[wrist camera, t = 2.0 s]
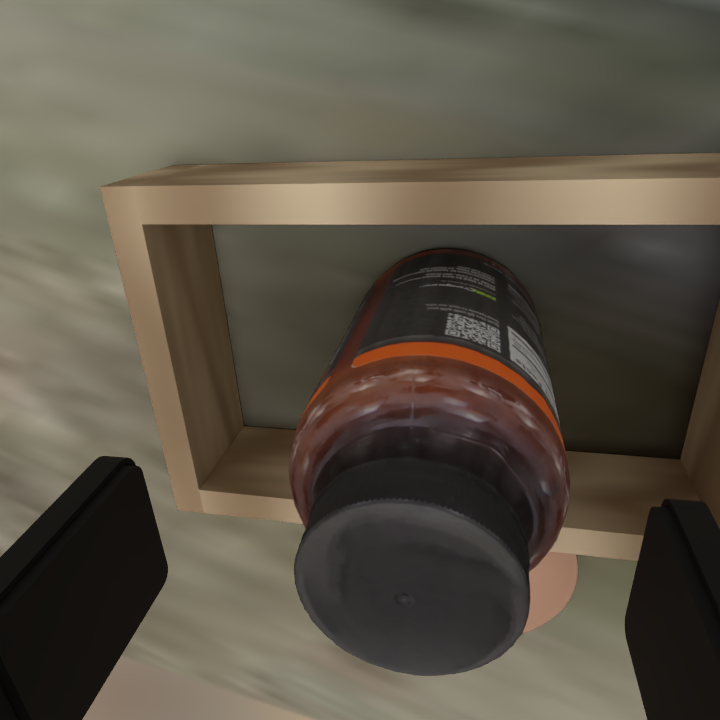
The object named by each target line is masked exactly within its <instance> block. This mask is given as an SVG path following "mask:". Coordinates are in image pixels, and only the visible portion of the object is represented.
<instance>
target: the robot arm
mask: <svg viewBox="0 0 720 720" xmlns="http://www.w3.org/2000/svg"><path fill="white" fill-rule="evenodd" d="M167 573H168V565H167V561H166V557H165V553H164V550H163V546H162V542H161V539H160V535H159V531H158V527H157V524H156V520H155V516H154V513H153V509H152V505H151V501H150V498H149V494H148V490H147V486H146V483H145V479H144V475H143V472H142V470H141V468H140V467H138V466H136V465H135V463H134V461H133V460H132V459H130V458H124V457H110V456H101V457H99V458H97V459H96V460H95V461H94V462H93V463H92V464H91V465H90V466H89V467H88V468H87V469H86V470H85V471H84V472H83V473H82V474H81V475H80V476H79V477H78V478H77V479H76V480H75V481H74V482H73V483H72V484H71V485H70V486H69V487H68V489H67V490H66V491H65V492H64V493H63V494H62V495H61V496H60V497H59V498H58V499H57V500H56V501H55V502H54V503H53V504H52V505H51V506H50V507H49V508H48V509H47V510H46V511H45V512H44V513H43V514H42V515H41V516H40V517H39V518H38V519H37V520H36V521H35V522H34V523H33V524H32V525H31V526H30V527H29V529H28V530H27V531H26V532H25V533H24V534H23V535H22V536H21V537H20V538H19V539H18V540H17V541H16V542H15V543H14V544H13V545H12V546H11V547H10V548H9V549H8V550H7V551H6V552H5V553H4V554H3V555H2V556H1V557H0V720H82V719H83V717H84V716H85V714H86V712H87V711H88V709H89V708H90V706H91V704H92V703H93V701H94V699H95V698H96V696H97V694H98V693H99V691H100V689H101V688H102V686H103V684H104V683H105V681H106V679H107V677H108V676H109V675H110V672H111V671H112V670H113V668H114V666H115V665H116V663H117V661H118V660H119V658H120V656H121V655H122V653H123V651H124V650H125V648H126V647H127V645H128V643H129V642H130V640H131V638H132V637H133V635H134V633H135V632H136V630H137V628H138V627H139V625H140V623H141V622H142V620H143V618H144V617H145V615H146V614H147V612H148V610H149V609H150V607H151V605H152V604H153V602H154V600H155V599H156V597H157V595H158V594H159V592H160V590H161V589H162V587H163V585H164V583H165V581H166V578H167ZM625 634H626V639H627V643H628V647H629V651H630V655H631V659H632V663H633V666H634V670H635V674H636V678H637V682H638V686H639V689H640V693H641V697H642V701H643V705H644V709H645V712H646V716H647V720H720V529H719V527H718V525H717V523H716V521H715V519H714V517H713V515H712V513H711V511H710V510H709V508H708V506H707V505H706V503H704V502H702V501H692V500H679V499H664V501H663V502H662V504H661V507H655V506H653V507H651V509H650V511H649V515H648V519H647V523H646V528H645V532H644V537H643V541H642V545H641V550H640V554H639V559H638V563H637V567H636V572H635V576H634V580H633V585H632V589H631V594H630V598H629V602H628V607H627V611H626V616H625Z"/></svg>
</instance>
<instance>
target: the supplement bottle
mask: <svg viewBox="0 0 720 720" xmlns="http://www.w3.org/2000/svg"><path fill="white" fill-rule="evenodd" d="M289 480H290V491H291V493H292V497H293V501H294V505H295V507H296V509H297V512H298V514H299V516H300V518H301V520H302V522H303V524H304V527H305V529H306V530H305V532H304V534H303V537H302V540H301V543H300V545H299V548H298V552H297V554H296V558H295V564H294V575H295V585H296V588H297V592H298V595H299V597H300V600H301V602H302V604H303V606H304V609H305V610H306V611H307V613H308V614H309V616H310V618H311V620H312V621H313V622H314V623H315V624H316V626H317V627H318V628H319V629H320V630H321V631H322V632H323V633H324V634H325V635H326V636H327V637H328V638H330V639H331V640H332V641H333V642H334V643H335V644H336V645H337V646H339V647H340V648H342V649H343V650H345V651H346V652H348V653H350V654H352V655H354V656H356V657H358V658H360V659H362V660H363V661H366V662H368V663H371V664H373V665H377V666H380V667H383V668H385V669H388V670H392V671H395V672H401V673H407V674H412V675H420V676H437V675H447V674H456V673H461V672H466V671H469V670H472V669H476V668H479V667H481V666H483V665H485V664H487V663H489V662H491V661H492V660H495V659H497V658H499V657H501V656H502V655H503V654H504V653H505V652H506V651H507V650H508V649H509V648H510V647H512V646H513V645H514V643H515V642H516V640H517V639H518V638H519V637H520V636H521V634H522V633H523V631H524V628H525V626H526V622H527V619H528V616H529V609H530V581H529V572H530V571H531V570H532V569H534V568H535V567H536V566H537V565H538V564H539V563H540V562H541V560H542V559H543V558H544V557H545V556H546V555H547V554H548V552H549V551H550V550H551V548H552V547H553V545H554V543H555V542H556V541H557V538H558V536H559V533H560V531H561V528H562V526H563V523H564V521H565V518H566V514H567V510H568V506H569V497H570V474H569V467H568V461H567V456H566V452H565V448H564V442H563V436H562V431H561V427H560V422H559V417H558V413H557V408H556V404H555V398H554V394H553V388H552V383H551V378H550V374H549V370H548V363H547V359H546V355H545V350H544V345H543V340H542V333H541V330H540V324H539V321H538V318H537V315H536V312H535V309H534V306H533V303H532V300H531V299H530V297H529V295H528V294H527V292H526V290H525V289H524V288H523V286H522V284H521V283H520V282H519V281H518V280H517V278H516V277H515V276H513V275H512V274H511V273H510V272H509V271H508V270H507V269H506V268H504V267H503V266H501V265H499V264H497V263H496V262H494V261H493V260H491V259H488V258H486V257H484V256H482V255H480V254H476V253H472V252H469V251H462V250H454V249H442V250H439V249H437V250H430V251H425V252H422V253H419V254H416V255H413V256H411V257H408V258H406V259H404V260H402V261H400V262H399V263H397V264H396V265H394V266H393V267H391V268H390V269H389V270H387V271H386V272H385V273H384V274H383V275H382V276H381V277H380V278H378V280H377V281H376V282H375V283H374V285H373V286H372V288H371V289H370V290H369V292H368V293H367V294H366V296H365V298H364V300H363V301H362V303H361V305H360V307H359V309H358V311H357V313H356V315H355V316H354V318H353V321H352V323H351V325H350V326H349V328H348V330H347V332H346V334H345V335H344V337H343V339H342V341H341V343H340V345H339V347H338V349H337V350H336V352H335V354H334V356H333V358H332V360H331V362H330V364H329V366H328V368H327V369H326V371H325V373H324V375H323V377H322V378H321V380H320V382H319V384H318V386H317V388H316V390H315V392H314V393H313V395H312V397H311V398H310V401H309V404H308V406H307V408H306V410H305V411H304V413H303V415H302V417H301V419H300V421H299V424H298V427H297V429H296V433H295V436H294V439H293V443H292V447H291V452H290V459H289Z"/></svg>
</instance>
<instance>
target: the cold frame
mask: <svg viewBox="0 0 720 720" xmlns="http://www.w3.org/2000/svg"><path fill="white" fill-rule="evenodd" d="M100 189H101V194H102V198H103V202H104V206H105V210H106V214H107V219H108V223H109V227H110V231H111V235H112V239H113V243H114V248H115V252H116V256H117V260H118V264H119V268H120V273H121V277H122V281H123V285H124V289H125V293H126V298H127V302H128V306H129V310H130V314H131V318H132V323H133V327H134V331H135V335H136V339H137V343H138V347H139V352H140V356H141V360H142V364H143V368H144V372H145V377H146V381H147V385H148V389H149V393H150V397H151V402H152V406H153V410H154V414H155V418H156V422H157V427H158V431H159V435H160V439H161V443H162V447H163V451H164V456H165V460H166V464H167V468H168V472H169V476H170V481H171V485H172V489H173V493H174V497H175V501H176V506H177V510H183V511H192V512H201V513H209V514H218V515H227V516H236V517H245V518H254V519H263V520H272V521H281V522H290V523H299V524H303V522H302V520H301V518H300V516H299V514H298V512H297V509H296V507H295V505H294V501H293V497H292V493H291V491H290V480H289V459H290V452H291V447H292V443H293V439H294V436H295V433H296V430H289V429H276V428H263V427H250V426H244V424H243V418H242V411H241V405H240V399H239V393H238V387H237V381H236V374H235V368H234V362H233V356H232V350H231V343H230V337H229V331H228V325H227V319H226V312H225V306H224V300H223V294H222V288H221V282H220V275H219V269H218V263H217V257H216V251H215V244H214V238H213V232H212V226H211V224H305V225H720V153H688V154H643V155H599V156H555V157H510V158H466V159H422V160H378V161H333V162H289V163H245V164H200V165H172V166H169V167H165V168H162V169H158V170H155V171H152V172H148V173H145V174H141V175H138V176H135V177H131V178H128V179H124V180H121V181H118V182H114V183H111V184H107V185H104V186H101V187H100ZM565 452H566V456H567V461H568V467H569V474H570V497H569V506H568V510H567V514H566V518H565V521H564V523H563V526H562V528H561V531H560V533H559V536H558V538H557V541H556V542H555V543H554V545H553V547H552V548H551V550H550V552H559V553H568V554H577V555H586V556H595V557H604V558H613V559H622V560H631V561H638V559H639V554H640V550H641V545H642V541H643V537H644V532H645V528H646V523H647V519H648V515H649V511H650V509H651V507H653V506H655V507H661V504H662V502H663V501H664V499H679V500H692V501H702V502H704V503H706V505H707V506H708V508H709V510H710V511H711V513H712V515H713V517H714V519H715V521H716V523H717V525H718V527H719V529H720V298H719V302H718V307H717V311H716V315H715V319H714V323H713V327H712V331H711V335H710V339H709V344H708V348H707V352H706V356H705V360H704V364H703V368H702V372H701V376H700V381H699V385H698V389H697V393H696V397H695V401H694V405H693V409H692V413H691V417H690V422H689V426H688V430H687V434H686V438H685V442H684V446H683V450H682V454H681V459H680V460H679V459H666V458H653V457H640V456H627V455H614V454H601V453H588V452H575V451H565Z"/></svg>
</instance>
